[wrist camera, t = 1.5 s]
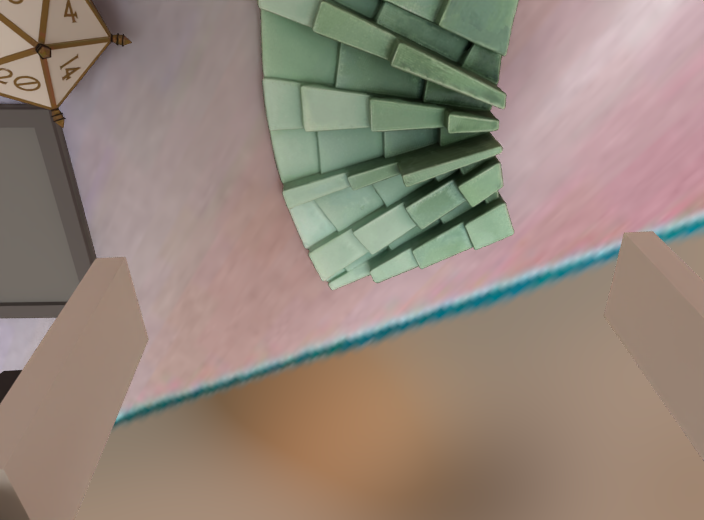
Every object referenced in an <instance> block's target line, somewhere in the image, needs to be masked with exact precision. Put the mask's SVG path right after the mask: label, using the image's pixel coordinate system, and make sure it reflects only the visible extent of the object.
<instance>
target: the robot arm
mask: <svg viewBox="0 0 704 520" xmlns="http://www.w3.org/2000/svg"><path fill="white" fill-rule="evenodd" d="M604 318H605V319H606V320H607V322H608V323H609V325H610V326H611V328H612V329H613V331H614V332H615V334H616V335H617V336H618V338H619V339H620V341H621V342H622V344H623V345H624V347H625V348H626V349H627V351H628V352H629V354H630V355H631V357H632V358H633V359H634V361H635V362H636V364H637V365H638V367H639V368H640V370H641V371H642V373H643V374H644V375H645V377H646V378H647V380H648V381H649V383H650V384H651V386H652V387H653V388H654V390H655V391H656V393H657V394H658V396H659V397H660V399H661V400H662V401H663V403H664V404H665V406H666V407H667V409H668V410H669V412H670V413H671V414H672V416H673V417H674V419H675V420H676V422H677V423H678V425H679V426H680V428H681V429H682V431H683V432H684V433H685V435H686V436H687V438H688V439H689V440H690V442H691V444H692V445H693V446H694V448H695V449H696V451H697V452H698V454H699V455H700V457H701V458H702V459H703V461H704V281H703V280H702V279H701V278H700V277H699V276H698V275H697V274H696V273H695V272H694V271H693V270H692V269H691V268H690V267H689V266H688V265H687V264H686V263H684V261H683V260H682V259H681V258H680V257H679V256H677V255H676V254H675V253H674V252H673V251H672V250H671V249H670V248H669V247H668V246H667V245H666V244H665V243H664V242H663V241H662V240H661V239H660V238H659V237H658V236H657V235H656V234H655V233H654V232H653V231H649V232H628V233H624V235H623V239H622V243H621V247H620V251H619V255H618V259H617V263H616V267H615V272H614V275H613V280H612V283H611V288H610V292H609V296H608V300H607V304H606V308H605V312H604ZM148 340H149V339H148V336H147V332H146V329H145V325H144V321H143V318H142V314H141V311H140V307H139V304H138V300H137V296H136V293H135V289H134V286H133V282H132V278H131V275H130V271H129V268H128V264H127V261H126V257H114V258H96V259H95V260H94V262H93V264H92V265H91V267H90V268H89V270H88V271H87V273H86V274H85V276H84V277H83V279H82V280H81V282H80V283H79V285H78V286H77V288H76V289H75V291H74V292H73V294H72V295H71V297H70V299H69V300H68V302H67V303H66V305H65V306H64V308H63V309H62V311H61V312H60V314H59V315H58V317H57V318H56V320H55V321H54V323H53V324H52V326H51V327H50V329H49V330H48V332H47V334H46V335H45V337H44V338H43V340H42V341H41V343H40V344H39V346H38V347H37V349H36V350H35V352H34V353H33V355H32V356H31V358H30V359H29V361H28V362H27V364H26V365H25V367H24V369H23V370H14V371H3V372H2V373H1V374H0V520H75V518H76V515H77V513H78V510H79V508H80V506H81V503H82V501H83V498H84V496H85V493H86V491H87V489H88V485H89V484H90V481H91V478H92V476H93V474H94V471H95V469H96V466H97V464H98V462H99V459H100V457H101V454H102V452H103V449H104V447H105V444H106V442H107V440H108V437H109V435H110V432H111V430H112V427H113V425H114V423H115V420H116V418H117V415H118V413H119V410H120V408H121V406H122V403H123V401H124V398H125V396H126V393H127V391H128V388H129V386H130V384H131V381H132V379H133V376H134V374H135V371H136V369H137V366H138V364H139V362H140V359H141V357H142V354H143V352H144V349H145V347H146V344H147V342H148Z"/></svg>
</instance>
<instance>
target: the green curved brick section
mask: <svg viewBox="0 0 704 520" xmlns="http://www.w3.org/2000/svg"><path fill="white" fill-rule="evenodd" d="M518 1H519V0H257V3H258V7H259V8H260V9H261V16H260V18H261V48H262V62H263V64H262V67H263V75H264V78H263V80H262V86H263V96H264V103H265V109H266V116H267V121H268V127H269V130H270V136H271V142H272V147H273V152H274V157H275V161H276V166H277V169H278V172H279V175H280V179H281V181H282V183H283V192H282V194H283V197H284V200H285V202H286V205H287V207H288V209H289V212H290V214H291V217H292V219H293V221H294V224H295V226H296V228H297V231H298V233H299V236H300V238H301V240H302V242H303V245H304V247H305V248H306V249H308V250H309V257H310V259H311V261H312V262H313V265H314V267H315V269H316V270H317V272H318V274H319V275H320V278H321V280H322V281H327V282H329V283H328V285H329V287H330V289H331V290H335V289H338V288H340V287H342V286H345V285H347V284H349V283H352V282H355V281H357V280H359V279H361V278H364V277H366V276H369V275H371V276H372V278H373V281H374V282H376V283H380V282H382V281H385V280H387V279H389V278H391V277H394V276H397V275H399V274H401V273H404V272H407V271H409V270H411V269H414V268H416V267H418V266H419V267H420V268H421V269H423V268H425V267H428V266H430V265H433V264H435V263H437V262H439V261H442V260H444V259H446V258H449V257H451V256H453V255H456V254H458V253H460V252H463V251H466V250H468V249H470V248H472V247H474V249H475V250H478V249H480V248H482V247H485V246H487V245H490V244H492V243H494V242H496V241H499V240H502V239H504V238H506V237H509V236H511V235H513V234H514V229H513V226H512V223H511V220H510V217H509V213H508V209H507V205H506V203H505V201H504V200H503V199H502V197H501V195H500V194H499V192H498V190H499V189H500V188H502V187H503V177H502V169H501V163H500V162H499V161H498V159H497V158H496V156H495V155H497V154H500V153H501V152H502V150H503V148H502V146H501V145H500V144H499V142H498V141H497V140H495V138H494V137H493V136H492V134H491V133H490V131H496V130H498V129H499V120H498V119H497V118H495V116H494V115H493V114H492V113H491V112H490V110H491V108H492V105H493V106H495V107H498V108H500V109H504V108H505V106H506V96H507V95H506V93H504V92H503V91H502V90H501V89H500V88H499V87H497V83H498V81H499V72H500V66H501V58H502V56H506V53H507V50H508V45H509V40H510V35H511V30H512V25H513V21H514V16H515V13H516V9H517V6H518Z"/></svg>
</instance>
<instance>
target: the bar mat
mask: <svg viewBox="0 0 704 520" xmlns="http://www.w3.org/2000/svg"><path fill="white" fill-rule="evenodd" d="M51 116H52V112H51V110H48V109H45V108H41V107H38V106H35V105H31V104H0V318H57V317H58V315H59V314H60V312H61V311H62V309H63V308H64V306H65V305H66V303H67V302H68V300H69V299H70V297H71V295H72V294H73V292H74V291H75V289H76V288H77V286H78V285H79V283H80V282H81V280H82V279H83V277H84V276H85V274H86V273H87V271H88V270H89V268H90V267H91V265H92V264H93V262H94V260H95V259H96V255H95V251H94V248H93V244H92V240H91V236H90V233H89V229H88V225H87V221H86V217H85V214H84V210H83V206H82V202H81V199H80V195H79V191H78V187H77V183H76V180H75V176H74V172H73V168H72V165H71V161H70V157H69V153H68V149H67V146H66V142H65V138H64V134H63V131H62V127H61V126H60V125H58V124H57V123H55V122H53V121H54V120H53V117H51Z"/></svg>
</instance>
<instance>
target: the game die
mask: <svg viewBox="0 0 704 520" xmlns="http://www.w3.org/2000/svg"><path fill="white" fill-rule="evenodd" d="M111 42H114V43H116V44H117V45H118V44H119V45H122V46H123V47H124V45H127V44H130V43H132V42H131V41H130V40H129V39H128V38H126V37H125V36H124V34H123V35H119V33H117V35H112V34H111V33H110V31H109V29H108V28H107V26H106V24H105V23H104V21H103V19H102V18H101V16H100V14H99V12H98V11H97V9H96V7H95V6H94V4H93V2H92V1H91V0H0V96H3V97H7V98H10V99H14V100H17V101H21V102H24V103H28V104H31V105H35V106H38V107H41V108H45V109H48V110H51V112H52V116H51V117H53V120H54V121H53V122H55V123H57V124H58V125H60V126H61V127H62V128H63V127H64V119H66V118H64V117H63V115H62V114H63V113H61V112H60V111H59V106H60V105H61V104H62V103H63V101H64V100H65V99H66V98H67V96H68V95H69V94H70V93H71V91H72V90H73V89H74V88H75V86H76V85H77V84H78V83H79V81H80V80H81V79H82V78H83V76H84V75H85V74H86V73H87V71H88V70H89V69H90V68H91V66H92V65H93V64H94V63H95V61H96V60H97V59H98V58H99V56H100V55H101V54H102V53H103V51H104V50H105V49H106V48H107V46H108V45H109V44H110V43H111Z"/></svg>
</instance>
